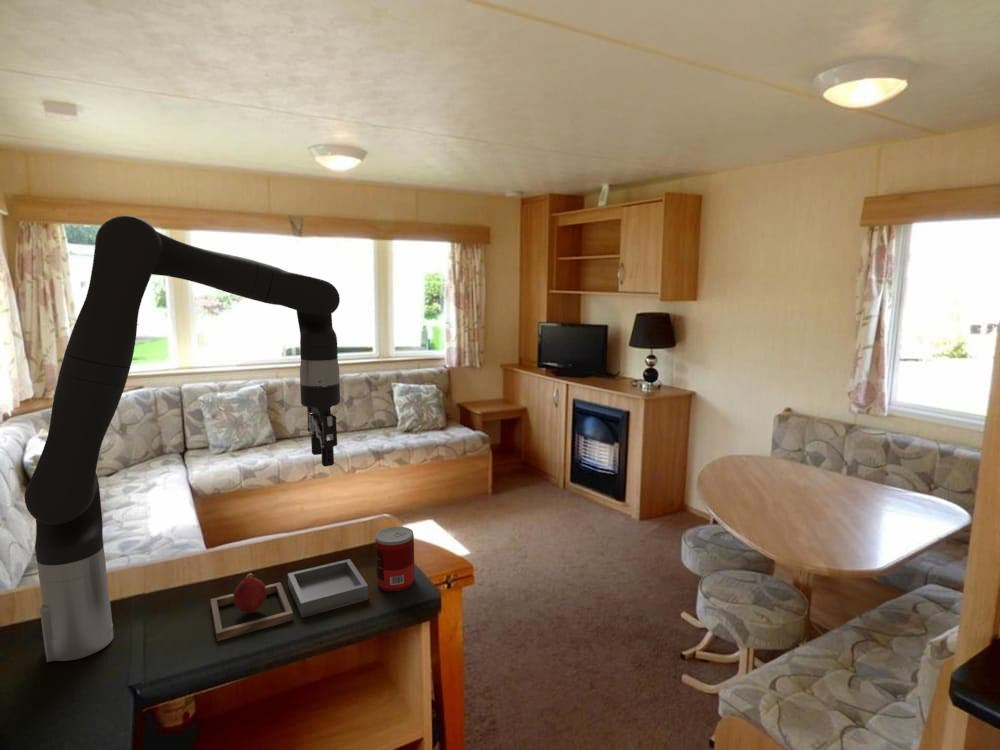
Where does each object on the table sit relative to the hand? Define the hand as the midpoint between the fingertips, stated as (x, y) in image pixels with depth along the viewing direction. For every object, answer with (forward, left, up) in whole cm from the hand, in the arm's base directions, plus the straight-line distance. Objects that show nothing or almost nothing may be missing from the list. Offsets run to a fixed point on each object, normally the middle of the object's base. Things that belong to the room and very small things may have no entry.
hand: (322, 459), depth 119 cm
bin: (-1, -4, -27) cm, 27 cm away
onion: (-16, -4, -27) cm, 32 cm away
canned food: (+12, -7, -27) cm, 31 cm away
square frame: (-16, -4, -27) cm, 31 cm away
